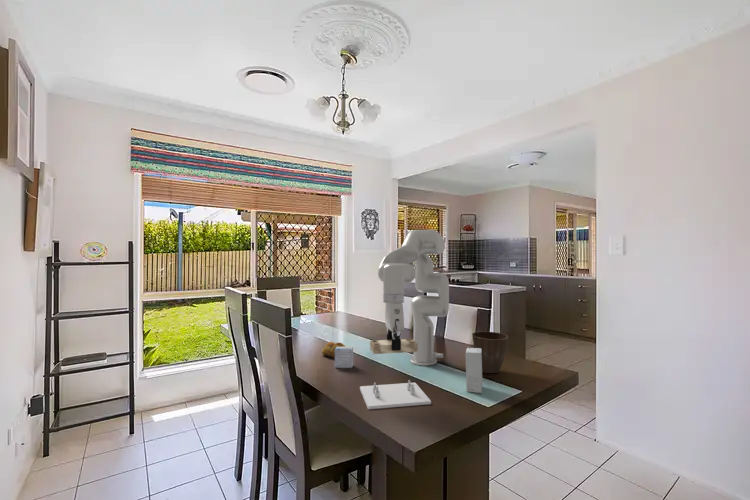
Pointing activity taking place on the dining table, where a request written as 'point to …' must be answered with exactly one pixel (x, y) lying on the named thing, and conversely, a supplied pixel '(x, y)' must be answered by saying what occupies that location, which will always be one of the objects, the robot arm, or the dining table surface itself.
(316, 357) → the dining table surface
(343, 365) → the medicine box
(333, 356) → the bread roll
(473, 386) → the skincare box
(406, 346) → the birch board
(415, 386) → the chassis plate
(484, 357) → the plant pot
